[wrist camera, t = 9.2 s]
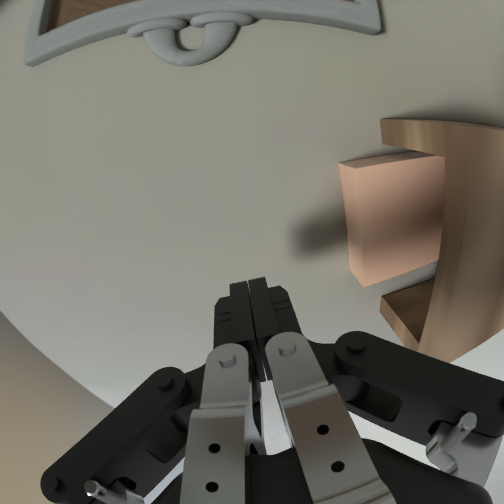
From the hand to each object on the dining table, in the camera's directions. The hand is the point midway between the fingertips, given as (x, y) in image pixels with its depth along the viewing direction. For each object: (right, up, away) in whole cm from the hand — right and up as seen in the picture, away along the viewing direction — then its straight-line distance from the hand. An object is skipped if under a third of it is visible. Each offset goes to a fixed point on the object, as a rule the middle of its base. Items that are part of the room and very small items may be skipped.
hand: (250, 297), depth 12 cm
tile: (+11, +6, +3) cm, 13 cm away
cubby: (+14, +5, +3) cm, 15 cm away
